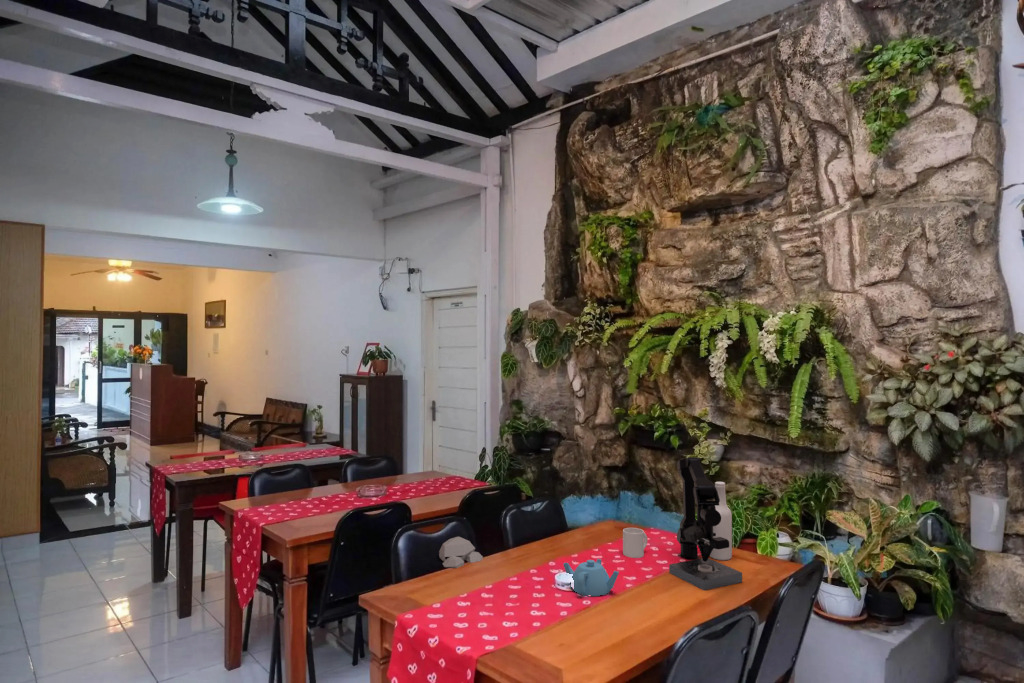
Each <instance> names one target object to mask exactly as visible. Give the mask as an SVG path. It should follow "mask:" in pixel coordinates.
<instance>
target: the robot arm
mask: <svg viewBox="0 0 1024 683" xmlns="http://www.w3.org/2000/svg"><path fill="white" fill-rule="evenodd" d="M676 469H677V471H678V475H679V477H680V479H681V480H682V499H683V500H682V501H683V502H682V503H683V517H682V519H681V521H680V522H679V528H678V530H677V533H676V540H677V542H678V543H679V544H680V554H677V557H680V558H683V559H684V560H686V561H690V560H695V559H701V558H702V559H703V561H705V562H706V561H707V560H708V558H709V559H710V554H711V552H712V550H713V549H724V548H729V541H728V540H727V539H725V538H722V537H717V538H713V536H716V533H714V532H713V526H716V525H718V524H719V523H720V522H721V515H720V513H719V512H718V511H717V510H716V507H715V505H719V501H720V499H719V496H718V492H717V490H716V488H715V484H714V483H713V481H712V480H710V479H709V478H707V476H706V474H705V472H704V469H703V466H702V464H701V458H700V457H697V456H696V457H695V456H690V457H689V456H688V457H686V458H680V459H679V460H677V461H676ZM714 499H715V501H714ZM698 549H699V550H698ZM698 551H699V552H700V555H701V557H700V556H698V554H699V552H698Z"/></svg>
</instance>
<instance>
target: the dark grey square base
mask: <svg viewBox="0 0 1024 683" xmlns="http://www.w3.org/2000/svg"><path fill="white" fill-rule="evenodd" d="M699 565H708V566H711V567H712V572H704V571H699V570H698V566H699ZM668 566H669V569H668V570H669V571H668V572H669V574H671V575H673V576H675V577H676V578H679V579H681V580H682V581H684V582H686V583H688V584H691V585H692V586H694V587H696V588H698V589H699V590H702V591H709V590H713V589H718V588H722V587H726V586H731V585H736V584H741V583H743V572H741V571H740V570H737V569H735V568H733V567H730V566H728V565H725V564H723V563H721V562H719V561H716V560H715V559H714V560H713V559H711V558H710V557H709V558H708V560H707V561H706V562H705V561H703V559H702V557H700V558H697V559H692V560H686V561H680V562H674V563H670V564H669V565H668Z"/></svg>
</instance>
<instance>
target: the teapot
mask: <svg viewBox="0 0 1024 683" xmlns="http://www.w3.org/2000/svg"><path fill="white" fill-rule="evenodd" d="M562 565H563V567H564V571H565V573H569V574H573V576H572V578H573V580H574V589H573V590H574V591H575V592H574V591H573V590H572V591H573V592H574V593H576V592H577V593H576V594H578V593H579V594H578V595H581V594H583V595H582V596H585V595H591V596H590V597H601V596H600V595H603V596H605V594H606V595H608V594H609V592H611V590H612V589H613V588H614V586H615V584H616V581H617V578H618V576H619V573H620V571H618V570H614V571H613V573H612V574H611V575H610V576H609V574H608V572H607V570H606V568H605V567H604V566H603V564H602V559H601V558H597V559H596V561H595V560H593V559H587V560H586V561H585V562H581V563H579V564H578V565H577V567H576V568H575V570H574V569H573V568H572V567H571V566H570V564H569V562H563V564H562ZM607 593H608V594H607Z"/></svg>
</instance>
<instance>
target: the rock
mask: <svg viewBox="0 0 1024 683" xmlns="http://www.w3.org/2000/svg"><path fill="white" fill-rule="evenodd" d="M475 550H476V546H474V545H473V544H472V543H471V541H470V540H468V539H465V538H463V537H461V536H455V537H452V538H449V539H448V540H446V541H444V542H443V543H442V545H441V547H440V549H439V551H438V553H439V554H438V556H439V557H438V558H439V559H440V560H441V561H442V565H443V567H444V568H452V569H458V568H461V567H463V566H465V561H466V562H468V563H470V564H473V563H478V562H481V561H482V560H483V558H484V556H483V555H481V553H480V552H479V551H475Z"/></svg>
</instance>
